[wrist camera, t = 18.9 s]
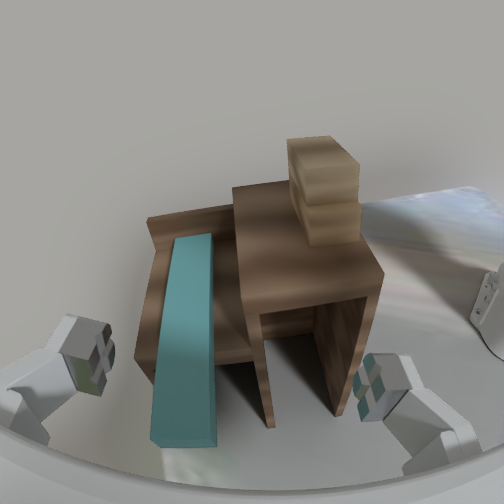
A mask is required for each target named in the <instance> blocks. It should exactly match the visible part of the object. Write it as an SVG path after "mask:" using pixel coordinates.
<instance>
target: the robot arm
mask: <svg viewBox="0 0 504 504" xmlns="http://www.w3.org/2000/svg"><path fill="white" fill-rule="evenodd" d="M470 321H471V322H472V324H473V325H474V326H475V327H476V328H477V329H478V330H479V331H480V333H481V335H482V337H483V339H484V341H485V343H486V344H487V346H488V347H489V349H490V350H491V351H492V352H493V353H494V354H495V355H496V356H498V357H499V358H501V359H502V360H504V263H502V264H501V265H500V267H499V269H498V271H497V272H488V273H486V274H485V276H484V278H483V281H482V284H481V287H480V290H479V293H478V296H477V299H476V301H475V304H474V307H473V309H472V312H471V315H470ZM111 334H112V330H111V327H110V325H109V324H107V323H103V322H99V321H95V320H91V319H87V318H83V317H79V316H75V315H71V314H66V315H64V316H63V318H62V320H61V321H60V323H59V324H58V326H57V327H56V329H55V331H54V332H53V334H52V335H51V337H50V339H49V340H48V342H47V344H46V345H45V347H44V348H42V347H40V348H38V349H36V350H34V351H32V352H30V353H29V354H27V355H25V356H23V357H21V358H20V359H18V360H16V361H14V362H12V363H11V364H9V365H7V366H6V367H4V368H2V369H0V504H504V443H503V444H501V445H499V446H497V447H494V448H492V449H489V450H487V451H484V452H482V449H481V447H480V444H479V442H478V439H477V437H476V434H475V432H474V430H473V427H472V425H471V423H469V422H468V421H467V420H466V419H465V418H463V417H462V416H461V415H460V414H459V413H457V412H456V411H455V410H454V409H453V408H451V407H450V406H449V405H448V404H446V403H445V402H444V401H443V400H442V399H440V398H439V397H438V396H437V395H436V394H434V393H433V392H432V391H431V390H430V389H428V388H424V386H423V383H422V381H421V379H420V377H419V374H418V372H417V370H416V368H415V365H414V363H413V361H412V359H411V357H410V355H409V354H408V353H369V354H367V355H366V356H365V358H364V359H363V364H364V366H362V367H361V368H359V369H358V370H357V372H356V373H355V375H354V379H353V392H354V396H355V397H356V398H358V399H359V400H360V402H359V404H358V406H357V407H358V411H359V415H360V419H361V422H372V421H383V423H384V424H385V426H386V427H387V428H388V429H389V430H390V431H391V433H392V434H393V435H394V436H395V437H396V438H397V439H398V441H399V442H400V443H401V444H402V445H403V446H404V448H405V449H406V450H407V451H408V452H409V453H410V455H411V456H412V457H413V458H411V459H410V460H409V461H408V462H406V463H405V464H404V465H403V467H402V470H403V474H404V476H402V477H398V478H393V479H388V480H383V481H377V482H371V483H365V484H358V485H351V486H343V487H333V488H322V489H307V490H240V489H225V488H214V487H205V486H196V485H189V484H182V483H176V482H170V481H164V480H159V479H153V478H149V477H144V476H139V475H135V474H131V473H127V472H123V471H119V470H115V469H111V468H108V467H104V466H101V465H97V464H95V463H91V462H88V461H85V460H82V459H79V458H76V457H73V456H70V455H68V454H65V453H62V452H60V451H57V450H55V449H52V448H50V447H47V445H48V442H49V439H50V436H49V434H48V432H47V431H46V430H45V428H44V427H43V426H42V425H41V422H42V421H43V420H44V419H46V418H47V417H48V416H49V415H50V414H52V413H53V412H54V411H55V410H56V409H58V408H59V407H60V406H61V405H63V404H64V403H65V402H66V401H67V400H69V399H70V398H71V397H72V396H73V395H74V394H76V393H77V391H80V392H84V393H88V394H92V395H96V396H100V397H101V395H102V392H103V390H104V387H105V385H106V382H107V379H106V376H105V374H106V373H107V372H109V371H110V370H111V369H112V366H113V363H114V357H115V346H114V342H113V341H112V340H111V339H110V336H111Z"/></svg>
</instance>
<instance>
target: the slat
mask: <svg viewBox="0 0 504 504" xmlns="http://www.w3.org/2000/svg"><path fill="white" fill-rule="evenodd" d="M150 440H151V441H153V442H154V443H155V444H156V445H158V446H159V447H160V448H207V447H217V430H216V403H215V363H214V244H213V240H212V235H211V233H207V234H201V235H194V236H187V237H181V238H175V243H174V249H173V254H172V260H171V266H170V271H169V277H168V283H167V290H166V296H165V303H164V309H163V316H162V323H161V331H160V338H159V346H158V355H157V363H156V372H155V382H154V393H153V404H152V416H151V431H150Z"/></svg>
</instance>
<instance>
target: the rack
mask: <svg viewBox="0 0 504 504" xmlns="http://www.w3.org/2000/svg"><path fill="white" fill-rule="evenodd" d="M287 149H288V150H287V151H288V166H289V180H286V181H278V182H270V183H262V184H255V185H247V186H240V187H233V188H232V193H233V204H230V205H223V206H216V207H210V208H203V209H197V210H190V211H184V212H178V213H172V214H167V215H161V216H155V217H149V218H148V219H147V222H146V223H147V225H148V229H149V231H150V234H151V237H152V240H153V243H154V246H155V249H156V253H155V257H154V262H153V266H152V270H151V274H150V279H149V283H148V288H147V292H146V297H145V301H144V306H143V312H142V316H141V321H140V326H139V332H138V337H137V343H136V348H135V354H134V359H135V361H136V362H137V364H138V365H139V366H140V368H141V369H142V370H143V372H144V373H145V375H146V376H147V377H148V379H149V380H150V381H151V383H152V384H153V385H154V382H155V372H156V363H157V355H158V346H159V338H160V331H161V323H162V316H163V309H164V303H165V296H166V290H167V283H168V277H169V271H170V266H171V260H172V254H173V249H174V243H175V238H181V237H187V236H194V235H201V234H207V233H211V235H212V240H213V244H214V363H215V365H224V364H233V363H242V362H250V361H254V365H255V369H256V374H257V379H258V384H259V389H260V394H261V398H262V403H263V408H264V413H265V417H266V422H267V427H268V429H269V428H275V421H274V414H273V407H272V400H271V392H270V385H269V378H268V371H267V364H266V357H265V350H264V343H263V340H270V339H277V338H283V337H290V336H296V335H302V334H308V333H313V335H314V338H315V342H316V346H317V350H318V353H319V357H320V361H321V365H322V369H323V372H324V376H325V380H326V384H327V388H328V392H329V396H330V400H331V404H332V408H333V412H334V416H335V417H337V416H341V415H342V414H343V411H344V408H345V406H346V403H347V400H348V398H349V395H350V392H351V389H352V386H353V379H354V375H355V373H356V372H357V370H358V369H359V366H360V363H361V359H362V356H363V353H364V350H365V346H366V343H367V340H368V336H369V333H370V329H371V326H372V322H373V319H374V315H375V311H376V307H377V303H378V299H379V295H380V291H381V287H382V283H383V278H384V274H385V273H384V272H383V270H382V268H381V267H380V265H379V263H378V261H377V260H376V258H375V256H374V255H373V253H372V251H371V250H370V248H369V246H368V245H367V243H366V241H365V240H364V238H363V236H362V235H361V233H360V228H361V218H362V206H361V205H360V204H359V202H358V188H359V172H360V164H359V163H358V162H357V161H356V160H355V159H354V158H353V157H352V156H351V155H350V154H349V153H348V152H347V151H346V150H344V148H342V147H341V146H340V145H339V144H338V143H337V142H336V141H335V140H334V139H333V138H332V137H331V136H319V137H306V138H295V139H287Z"/></svg>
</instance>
